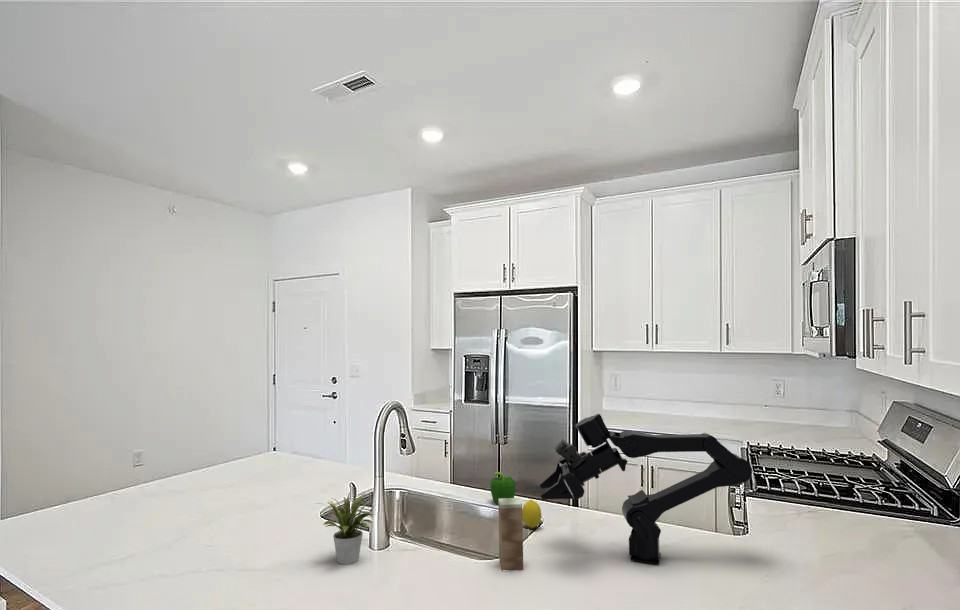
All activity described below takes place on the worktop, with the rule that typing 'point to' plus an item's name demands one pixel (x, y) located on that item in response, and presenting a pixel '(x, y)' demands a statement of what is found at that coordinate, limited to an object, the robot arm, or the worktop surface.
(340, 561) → the house plant
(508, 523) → the walnut block
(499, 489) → the bell pepper
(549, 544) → the worktop surface
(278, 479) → the worktop surface
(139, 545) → the worktop surface
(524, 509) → the lemon
